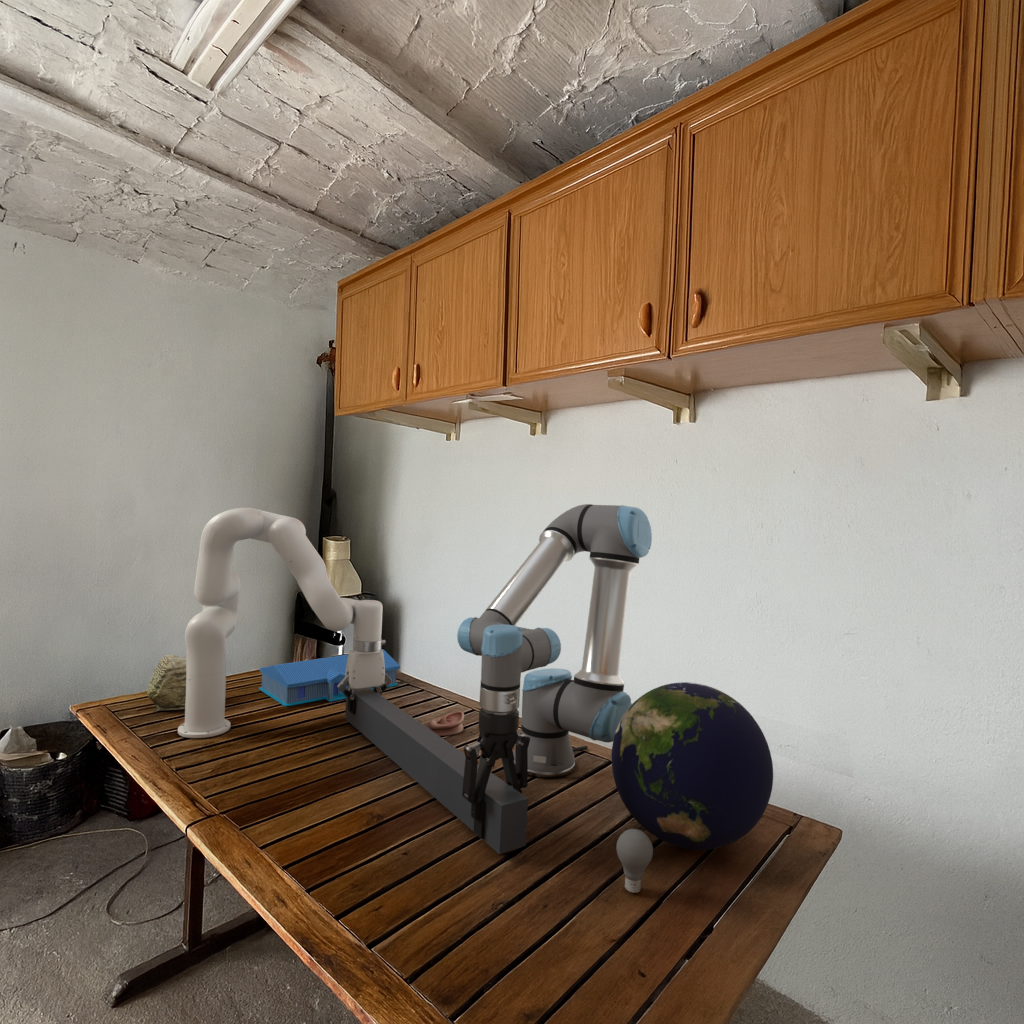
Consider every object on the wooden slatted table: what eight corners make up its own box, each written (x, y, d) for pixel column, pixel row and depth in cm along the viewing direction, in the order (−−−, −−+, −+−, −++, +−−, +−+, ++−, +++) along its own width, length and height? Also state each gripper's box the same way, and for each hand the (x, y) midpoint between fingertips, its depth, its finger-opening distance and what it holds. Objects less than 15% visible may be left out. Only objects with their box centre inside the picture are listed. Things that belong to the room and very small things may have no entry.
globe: (590, 859, 114) (598, 694, 114) (625, 791, 142) (631, 658, 142) (768, 905, 103) (778, 722, 103) (769, 822, 131) (776, 678, 130)
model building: (289, 709, 186) (291, 675, 185) (258, 688, 204) (259, 657, 204) (403, 687, 212) (405, 657, 212) (366, 670, 230) (368, 643, 230)
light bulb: (610, 879, 108) (613, 822, 108) (644, 879, 109) (647, 822, 109) (619, 902, 102) (622, 840, 102) (655, 901, 103) (658, 840, 103)
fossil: (144, 707, 182) (145, 655, 182) (212, 696, 194) (213, 647, 194) (151, 716, 175) (153, 662, 175) (221, 703, 188) (223, 653, 188)
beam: (345, 718, 177) (346, 687, 177) (364, 715, 181) (366, 684, 181) (499, 854, 113) (501, 805, 112) (525, 845, 116) (528, 798, 116)
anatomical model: (409, 718, 171) (423, 705, 182) (408, 733, 171) (423, 719, 182) (456, 724, 168) (468, 710, 180) (455, 739, 168) (467, 724, 180)
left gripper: (390, 640, 181) (387, 702, 182) (331, 645, 172) (328, 711, 172) (401, 645, 175) (398, 710, 176) (340, 651, 166) (337, 720, 166)
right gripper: (465, 722, 111) (460, 853, 111) (551, 707, 121) (545, 826, 122) (445, 710, 117) (440, 834, 117) (528, 696, 127) (523, 810, 128)
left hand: (363, 710), depth 174 cm, fingers closed on beam, 5 cm apart
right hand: (493, 830), depth 119 cm, fingers closed on beam, 6 cm apart
